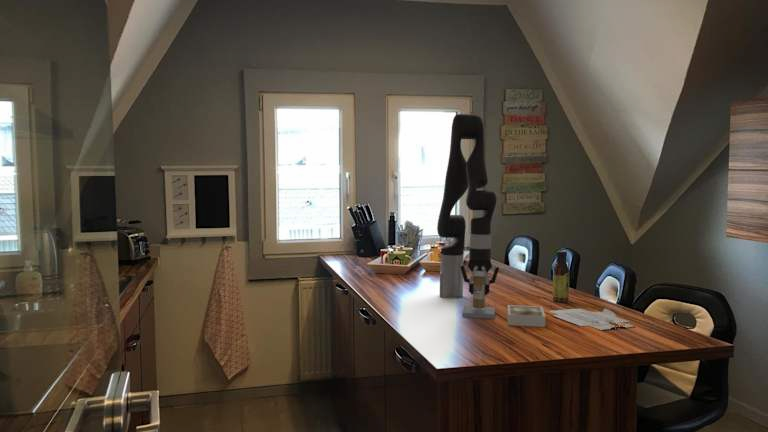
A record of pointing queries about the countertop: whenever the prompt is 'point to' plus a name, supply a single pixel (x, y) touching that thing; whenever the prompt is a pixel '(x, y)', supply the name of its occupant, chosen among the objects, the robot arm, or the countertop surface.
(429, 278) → the countertop surface
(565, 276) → the sauce bottle
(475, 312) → the ceramic tile
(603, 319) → the white cloth
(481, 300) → the sprinkles bottle
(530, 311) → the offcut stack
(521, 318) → the shallow white open box
